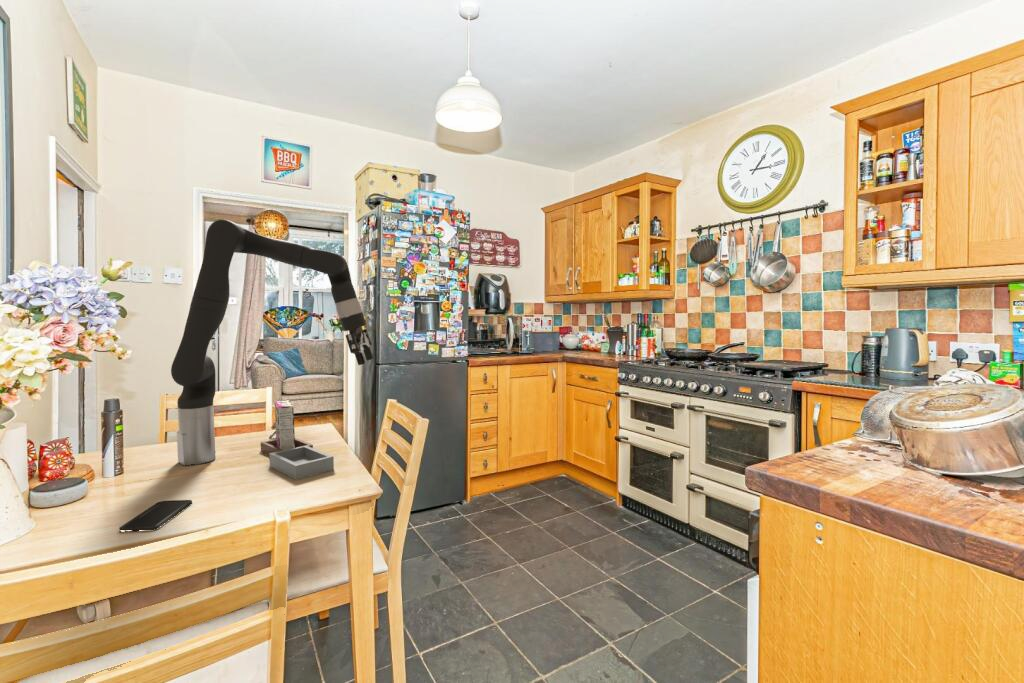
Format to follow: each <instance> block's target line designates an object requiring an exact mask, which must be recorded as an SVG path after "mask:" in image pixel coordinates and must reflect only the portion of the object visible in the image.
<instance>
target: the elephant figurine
mask: <svg viewBox="0 0 1024 683" xmlns="http://www.w3.org/2000/svg"><path fill="white" fill-rule="evenodd" d="M270 429H273V430H274V429H275V430H274V431H273V433H272V434H270V435H269V437H268V439H270V440H271V439H272V438H273V437H274V436H276V422H275V421H274V422H273V425H272V426H271V428H270Z"/></svg>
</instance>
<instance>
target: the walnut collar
mask: <svg viewBox="0 0 1024 683" xmlns="http://www.w3.org/2000/svg"><path fill="white" fill-rule="evenodd" d="M313 445H314V444H311V443H309V442H307V441H304V440H301V439H299V438H296V437H295V448H297V447H301V446H309V447H311V448H314V446H313ZM260 451H261V453H264V454H266V455H268V454H269V453H274V452H278V451H283V450H282V449H279V448H277V442H276V438H275V439H270V440H265V441H260Z"/></svg>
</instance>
